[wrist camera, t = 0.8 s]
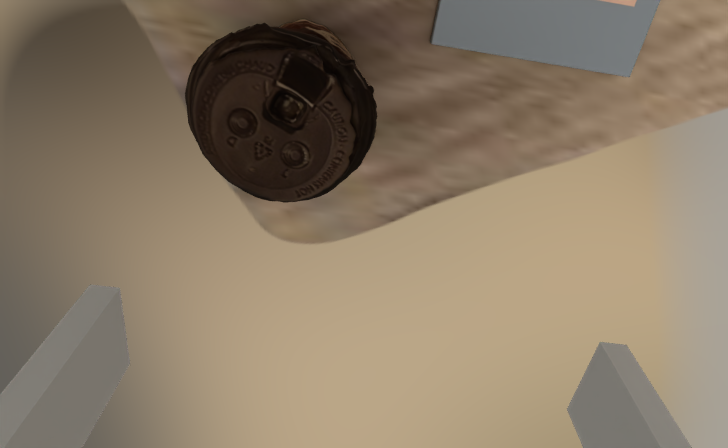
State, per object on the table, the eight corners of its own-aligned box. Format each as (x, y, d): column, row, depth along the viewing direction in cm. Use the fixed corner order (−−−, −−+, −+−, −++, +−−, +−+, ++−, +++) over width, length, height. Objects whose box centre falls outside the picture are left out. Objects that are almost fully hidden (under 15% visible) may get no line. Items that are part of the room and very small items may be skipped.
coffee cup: (351, -19, 30) (342, -5, 19) (389, 110, 34) (401, 188, 22) (220, 27, 31) (136, 67, 20) (271, 147, 35) (225, 238, 24)
